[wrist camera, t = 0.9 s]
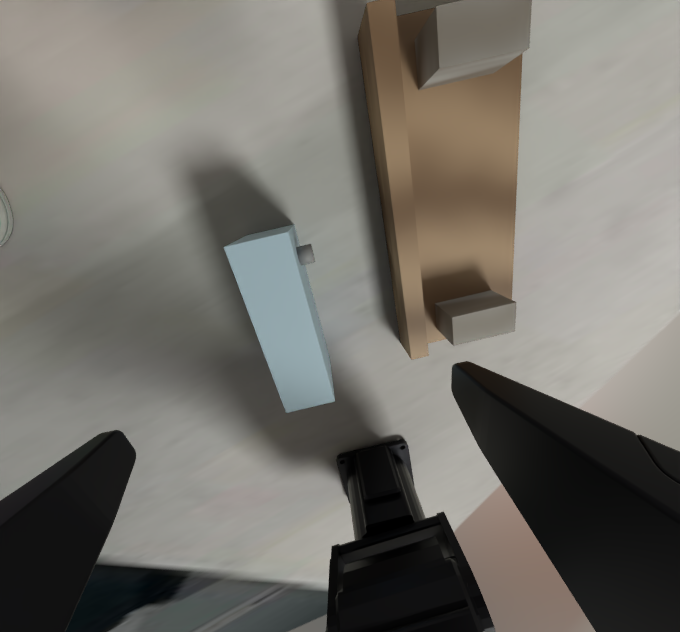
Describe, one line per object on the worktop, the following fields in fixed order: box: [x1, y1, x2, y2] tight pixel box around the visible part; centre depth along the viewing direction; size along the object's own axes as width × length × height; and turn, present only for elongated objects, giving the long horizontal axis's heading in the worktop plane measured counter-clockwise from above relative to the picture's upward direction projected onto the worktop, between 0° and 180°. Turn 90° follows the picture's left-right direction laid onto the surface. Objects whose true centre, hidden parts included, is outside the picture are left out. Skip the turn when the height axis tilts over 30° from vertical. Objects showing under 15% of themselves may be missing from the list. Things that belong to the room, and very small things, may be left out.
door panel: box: [224, 224, 335, 413], centre depth 17 cm, size 10×4×5 cm, turn 12°
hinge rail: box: [358, 0, 532, 360], centre depth 16 cm, size 18×8×4 cm, turn 12°
